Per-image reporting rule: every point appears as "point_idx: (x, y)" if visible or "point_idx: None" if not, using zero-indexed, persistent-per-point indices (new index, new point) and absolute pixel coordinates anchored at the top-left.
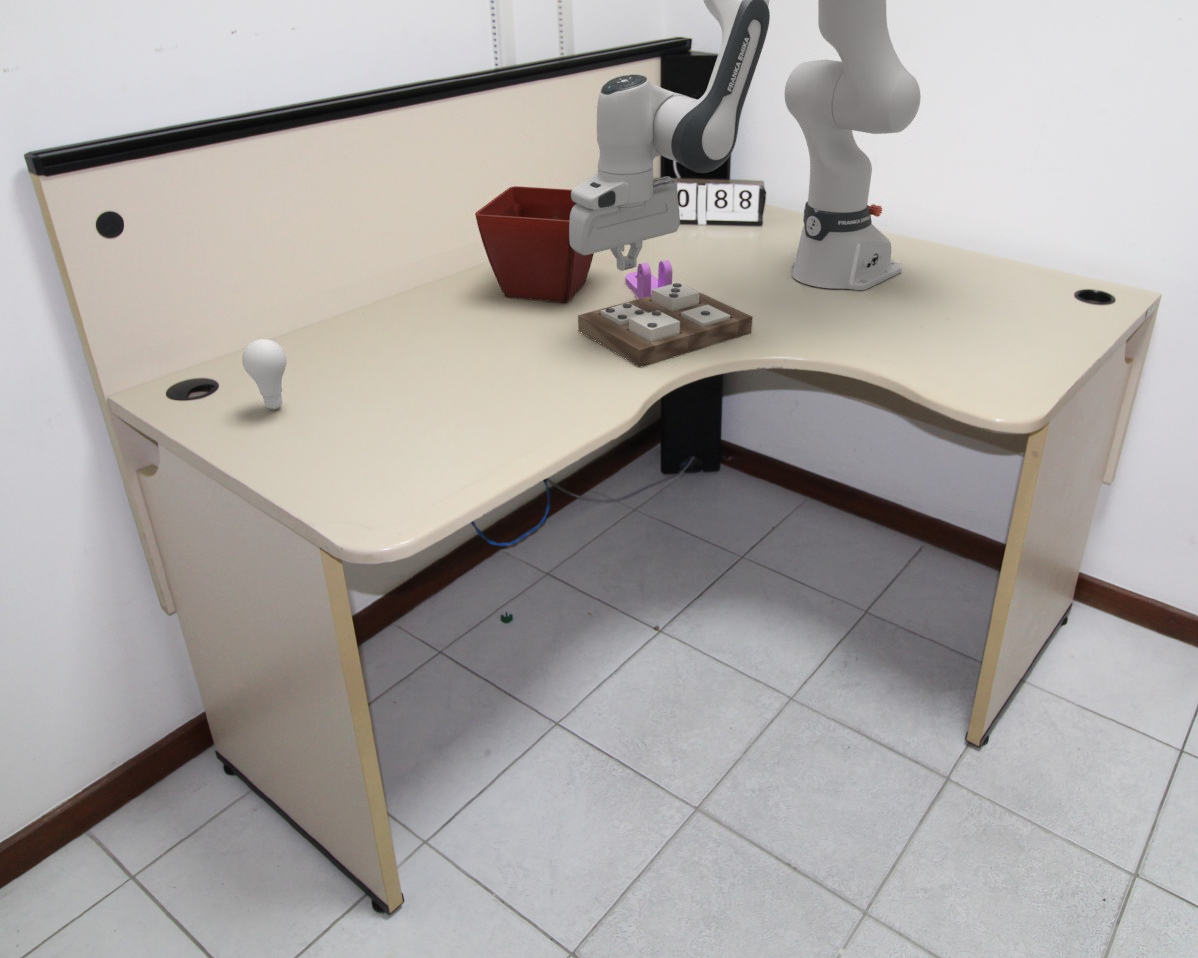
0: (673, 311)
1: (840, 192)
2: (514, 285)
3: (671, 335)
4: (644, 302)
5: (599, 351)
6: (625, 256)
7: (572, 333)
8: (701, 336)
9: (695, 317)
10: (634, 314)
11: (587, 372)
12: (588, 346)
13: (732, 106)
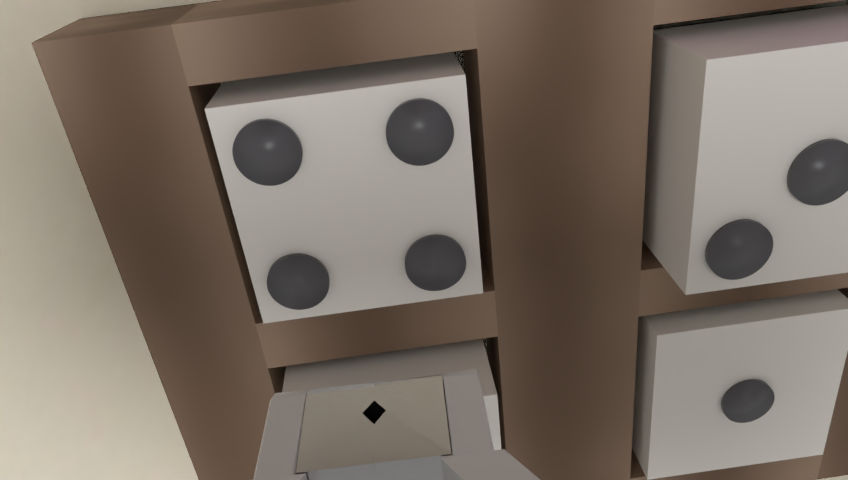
0: (651, 272)
1: None
2: None
3: None
4: (599, 57)
5: (127, 311)
6: (399, 471)
7: (34, 27)
8: None
9: (669, 416)
10: (393, 269)
11: (8, 460)
12: (86, 238)
13: None
